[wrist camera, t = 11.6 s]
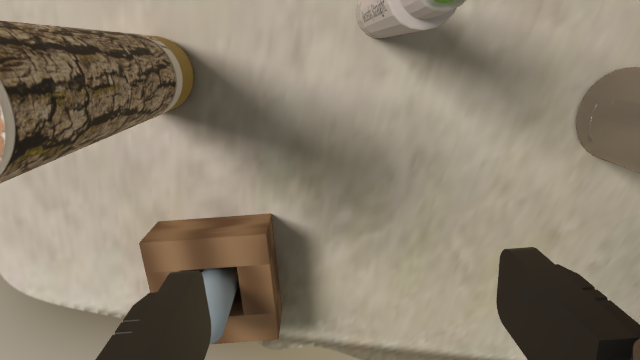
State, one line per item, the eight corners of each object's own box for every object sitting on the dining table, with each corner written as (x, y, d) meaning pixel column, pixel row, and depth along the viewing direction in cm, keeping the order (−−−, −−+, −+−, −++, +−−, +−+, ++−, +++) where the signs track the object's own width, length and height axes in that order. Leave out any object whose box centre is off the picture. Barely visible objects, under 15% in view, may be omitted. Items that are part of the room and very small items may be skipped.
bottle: (356, -13, 36) (409, -85, 17) (405, -14, 36) (511, -85, 17) (355, 38, 37) (403, 25, 18) (402, 38, 37) (498, 25, 18)
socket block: (271, 213, 42) (266, 234, 38) (281, 309, 46) (278, 339, 41) (158, 221, 42) (139, 243, 38) (178, 316, 46) (163, 347, 41)
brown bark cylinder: (204, 102, 39) (36, 185, 15) (136, 116, 39) (-135, 218, 15) (183, 29, 37) (-49, -11, 13) (112, 43, 37) (-246, 31, 13)
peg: (240, 249, 44) (220, 305, 34) (244, 281, 45) (227, 343, 35) (203, 252, 44) (174, 308, 34) (209, 284, 45) (182, 346, 35)
